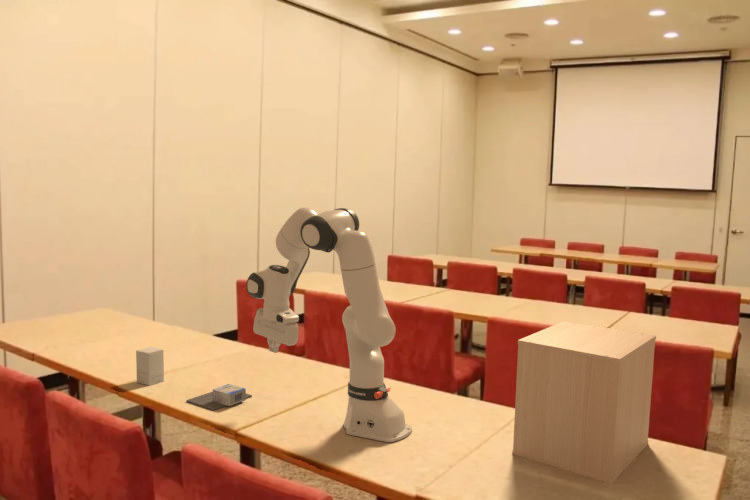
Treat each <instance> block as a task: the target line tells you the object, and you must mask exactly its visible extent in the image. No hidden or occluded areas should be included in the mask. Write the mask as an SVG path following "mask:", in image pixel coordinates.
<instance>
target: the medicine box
mask: <svg viewBox="0 0 750 500" xmlns="http://www.w3.org/2000/svg"><path fill="white" fill-rule="evenodd" d="M212 392H213V402H216V403H220V404H223V405H227V406H228V407H231V406H234V405H237V404H240V403H241V402H244V401H246V400H247V399H246V394H247V392H246V388H245V387H242V386H237V385H235V384H230V383H228V384H225V385H223V386H219V387H217V388H214V389H212ZM227 406H226V407H227Z"/></svg>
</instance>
